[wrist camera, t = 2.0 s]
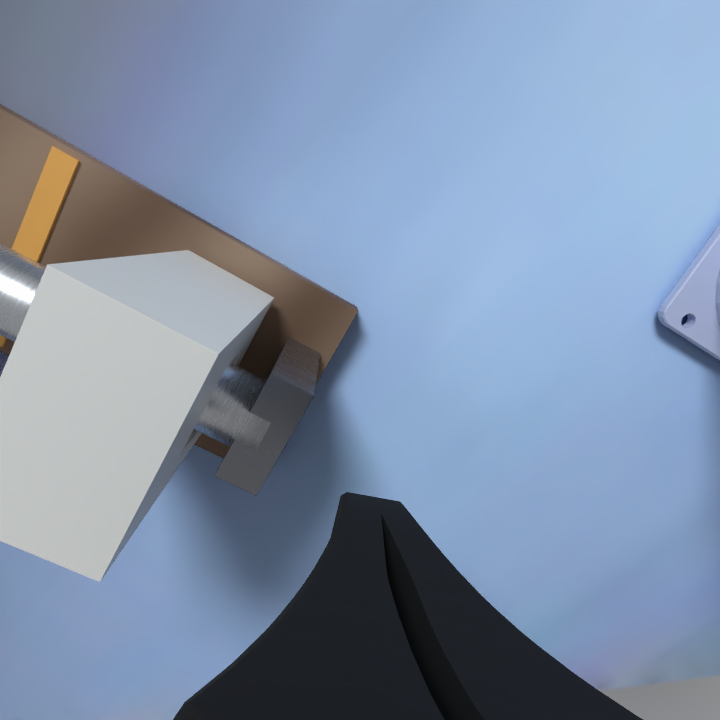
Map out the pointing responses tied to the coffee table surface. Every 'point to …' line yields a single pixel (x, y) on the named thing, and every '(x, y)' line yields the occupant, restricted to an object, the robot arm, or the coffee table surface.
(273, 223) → the coffee table surface
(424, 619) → the robot arm
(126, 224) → the rod jig
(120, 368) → the white block on rod
